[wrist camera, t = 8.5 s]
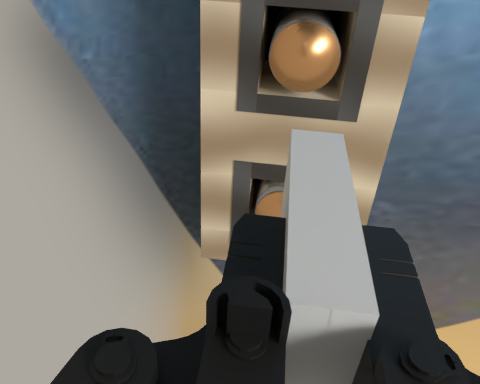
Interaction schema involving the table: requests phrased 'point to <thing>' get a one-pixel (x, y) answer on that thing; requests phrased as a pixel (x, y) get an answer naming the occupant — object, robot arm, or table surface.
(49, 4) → the table surface
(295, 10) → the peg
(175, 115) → the table surface
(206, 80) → the block
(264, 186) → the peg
